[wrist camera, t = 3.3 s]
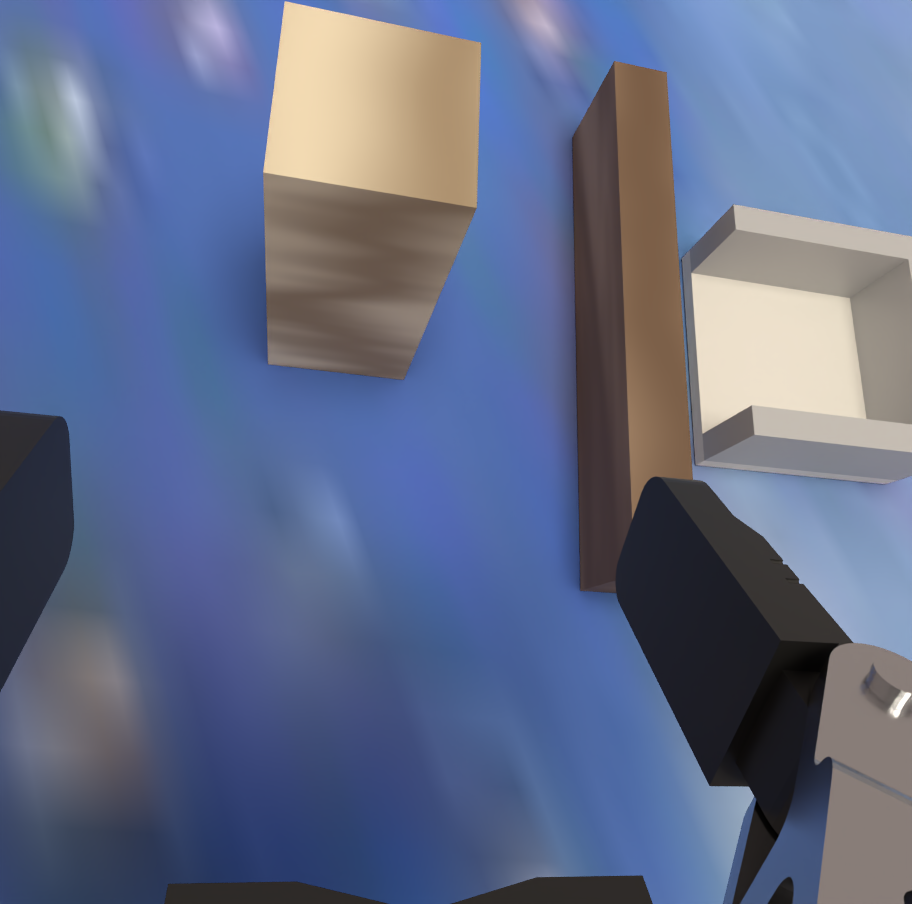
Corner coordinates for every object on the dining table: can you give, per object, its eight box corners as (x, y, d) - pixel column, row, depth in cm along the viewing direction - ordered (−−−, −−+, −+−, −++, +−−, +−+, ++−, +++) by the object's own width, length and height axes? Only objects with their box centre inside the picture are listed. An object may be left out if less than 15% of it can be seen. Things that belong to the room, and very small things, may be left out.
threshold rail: (580, 590, 25) (634, 574, 21) (572, 137, 30) (614, 60, 27) (636, 594, 25) (699, 579, 22) (618, 146, 31) (666, 72, 27)
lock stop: (268, 364, 25) (263, 172, 15) (281, 244, 26) (284, 1, 17) (403, 379, 26) (476, 207, 16) (410, 263, 27) (480, 42, 18)
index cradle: (695, 465, 27) (754, 434, 24) (681, 258, 30) (733, 204, 26) (885, 484, 29) (965, 458, 26) (857, 286, 31) (927, 239, 28)
